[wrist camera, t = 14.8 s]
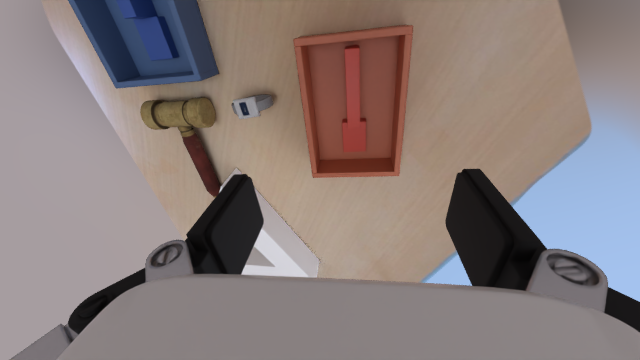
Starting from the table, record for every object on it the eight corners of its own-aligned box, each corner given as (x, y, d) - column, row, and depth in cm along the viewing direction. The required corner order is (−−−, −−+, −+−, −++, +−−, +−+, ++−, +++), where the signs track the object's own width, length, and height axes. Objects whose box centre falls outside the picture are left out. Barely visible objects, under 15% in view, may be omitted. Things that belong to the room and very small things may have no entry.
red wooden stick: (338, 46, 32) (336, 49, 29) (365, 44, 31) (367, 46, 28) (343, 147, 40) (342, 159, 37) (365, 147, 40) (366, 158, 36)
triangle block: (236, 167, 46) (221, 186, 41) (352, 223, 50) (351, 246, 45) (205, 251, 62) (191, 273, 57) (294, 288, 66) (289, 311, 61)
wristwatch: (273, 87, 37) (263, 95, 32) (278, 105, 38) (269, 115, 34) (237, 93, 38) (222, 102, 34) (243, 110, 39) (230, 120, 35)
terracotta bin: (301, 36, 32) (293, 39, 28) (405, 24, 30) (413, 25, 26) (316, 162, 43) (312, 177, 39) (394, 160, 41) (399, 176, 37)
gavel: (237, 208, 47) (191, 207, 49) (245, 193, 51) (202, 192, 52) (194, 103, 35) (133, 106, 36) (209, 93, 38) (154, 96, 40)
